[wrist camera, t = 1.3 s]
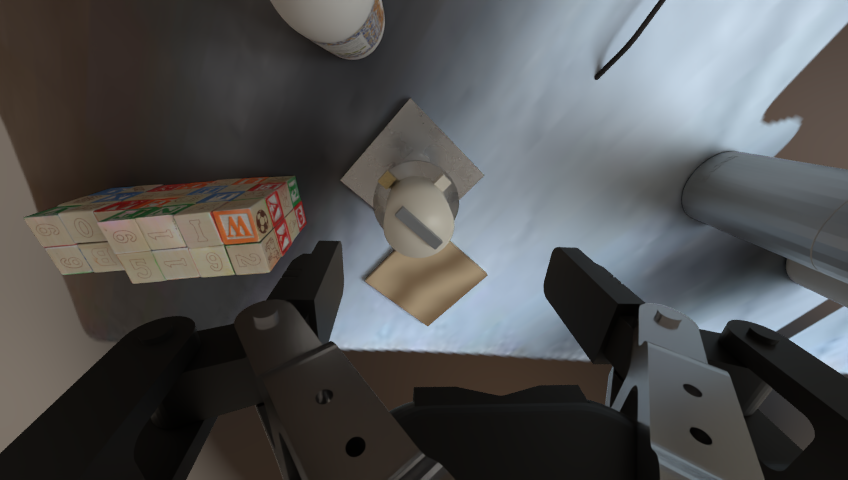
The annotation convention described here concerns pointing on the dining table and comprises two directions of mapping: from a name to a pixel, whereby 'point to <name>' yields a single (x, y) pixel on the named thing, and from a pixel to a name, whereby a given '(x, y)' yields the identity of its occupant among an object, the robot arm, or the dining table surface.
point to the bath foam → (336, 24)
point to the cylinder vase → (818, 282)
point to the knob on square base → (410, 161)
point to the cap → (418, 216)
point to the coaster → (426, 281)
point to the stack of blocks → (175, 229)
